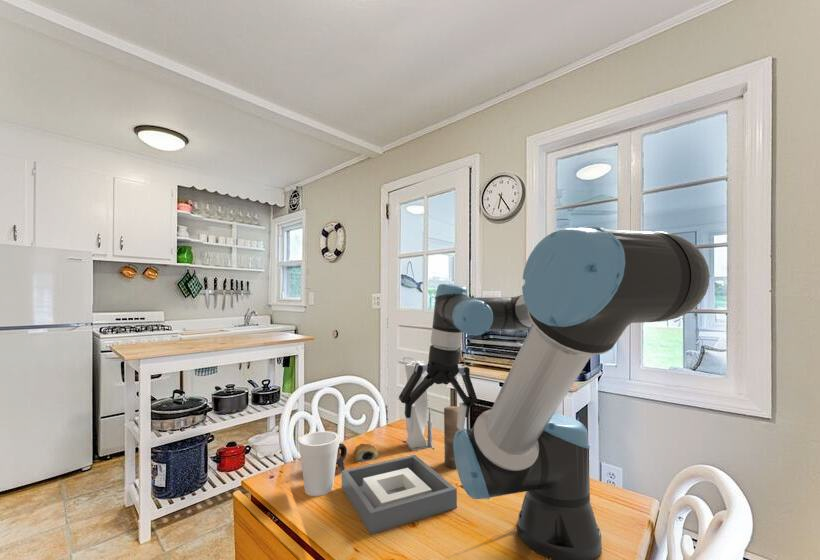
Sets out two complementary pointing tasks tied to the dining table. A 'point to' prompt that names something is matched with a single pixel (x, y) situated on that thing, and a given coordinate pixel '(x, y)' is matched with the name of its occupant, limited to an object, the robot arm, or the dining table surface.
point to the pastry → (365, 453)
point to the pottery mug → (340, 459)
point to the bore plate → (393, 487)
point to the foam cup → (318, 461)
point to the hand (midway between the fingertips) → (435, 429)
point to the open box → (402, 510)
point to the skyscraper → (419, 414)
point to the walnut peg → (450, 434)
